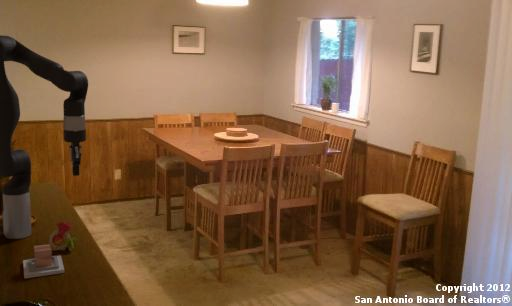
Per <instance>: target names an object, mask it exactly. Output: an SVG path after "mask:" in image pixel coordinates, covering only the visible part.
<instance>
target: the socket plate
mask: <svg viewBox="0 0 512 306" xmlns="http://www.w3.org/2000/svg"><path fill="white" fill-rule="evenodd" d="M22 264H23V265H22V266H23V277H24V278H23V279H30V278H31V279H32V278H37V277H44V276H45V277H46V276H52V275H53V276H54V275H59V274H65V266H64V263H63V258H62V255H52V266H46V267H39V268H35V258H28V259H23V260H22Z"/></svg>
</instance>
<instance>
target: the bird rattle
mask: <svg viewBox="0 0 512 306" xmlns="http://www.w3.org/2000/svg"><path fill="white" fill-rule="evenodd" d="M55 225H56V227H57V228H58V229H55V230H54V231H52V233H51V234H50V235H49V237H48V242H49V244H50V246H51V248H53V250H54V251H59V250H63V249H66V248H67V249H68V252H69V251H70V252H71V251H72V250H73V249H74V248H75V246H74V245H75V243H76V241H78V239H77V238H76V237H72V238H71V236H70V233H69V232H68V231H71V230H72V227H71V222H70V221H68V222H64V221H63V222H57V223H56V224H55Z"/></svg>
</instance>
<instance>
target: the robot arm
mask: <svg viewBox="0 0 512 306" xmlns="http://www.w3.org/2000/svg"><path fill="white" fill-rule="evenodd" d="M5 62H15V63H17V64H21V65H23V66H25V67H27V68H28V70H30V71H31V73H33V74H34V75H36V76H37V77H40V78H42V79H44V80H45V81H48V82H51V84H52V85H54V86H55V87H56V88H57V89H59V90H61V91H64V92H67V93H69V96H68V97H67V98H65V99H64V100H63V105H62V106H63V107H62V108H63V122H62V123H63V124H62V125H63V127H62V128H63V141H64V142H65V143H70V145H68V150H69V158H70V162H71V163H70V164H71V167H72V175H73V176H74V177H77V176H80V166H81V164H82V163H81V161H82V151H83V149H82V146H81V144H80V143H83V142H85V141H86V140H87V126H86V125H87V123H86V117H85V114H86V113H85V110H86V109H85V106H86V105H85V102H86V99H87V94H88V89H89V79H88V76H87V74H85V73H84V72H83V71H82V70H81V71H80V70H70V71H69V70H66V69H65V68H64V67H63V65H62V64H60V63H59V62H56V61H54V60H51V59H49V58H47V57H45V56H43V55H41V54H39V53H37V52H34V51H33V50H32V49H30V48H28V47H27V46H25V45H24V44H23V43H21V42H19V41H18V40H17V39H15V38H14V37H12V36H10V35H1V34H0V176H1V177H2V178H10V179H9V180H8V181H7V182H5V183H4V184H3V186H2V187H1V188H2V203H3V211H2V224H3V225H2V227H3V235H4V236H5V238H6V239H11V240H19V239H25V238H27V237H29V236H31V235H32V218H31V217H32V214H31V213H32V212H31V198H30V186H31V184H32V161H31V157H30V155H29V153H28V152H27V151H26V150H25V149H15V150H12V140H13V135H14V132H15V131H16V128H17V126H18V124H19V121H20V117H21V108H20V98H19V95H18V93H17V92H16V89H14V87H13V85H12V83H11V82H10V81H9V78H8V76H7V73H6V68H5Z"/></svg>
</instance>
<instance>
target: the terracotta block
mask: <svg viewBox="0 0 512 306" xmlns="http://www.w3.org/2000/svg"><path fill="white" fill-rule="evenodd" d="M33 254H34V258H35V268H39V267H46V266H52V256H53V255H52V254H53V252H52V246H51V245H50V243H49V244H41V245H40V244H39V245H34V246H33ZM34 258H33V259H34Z"/></svg>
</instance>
